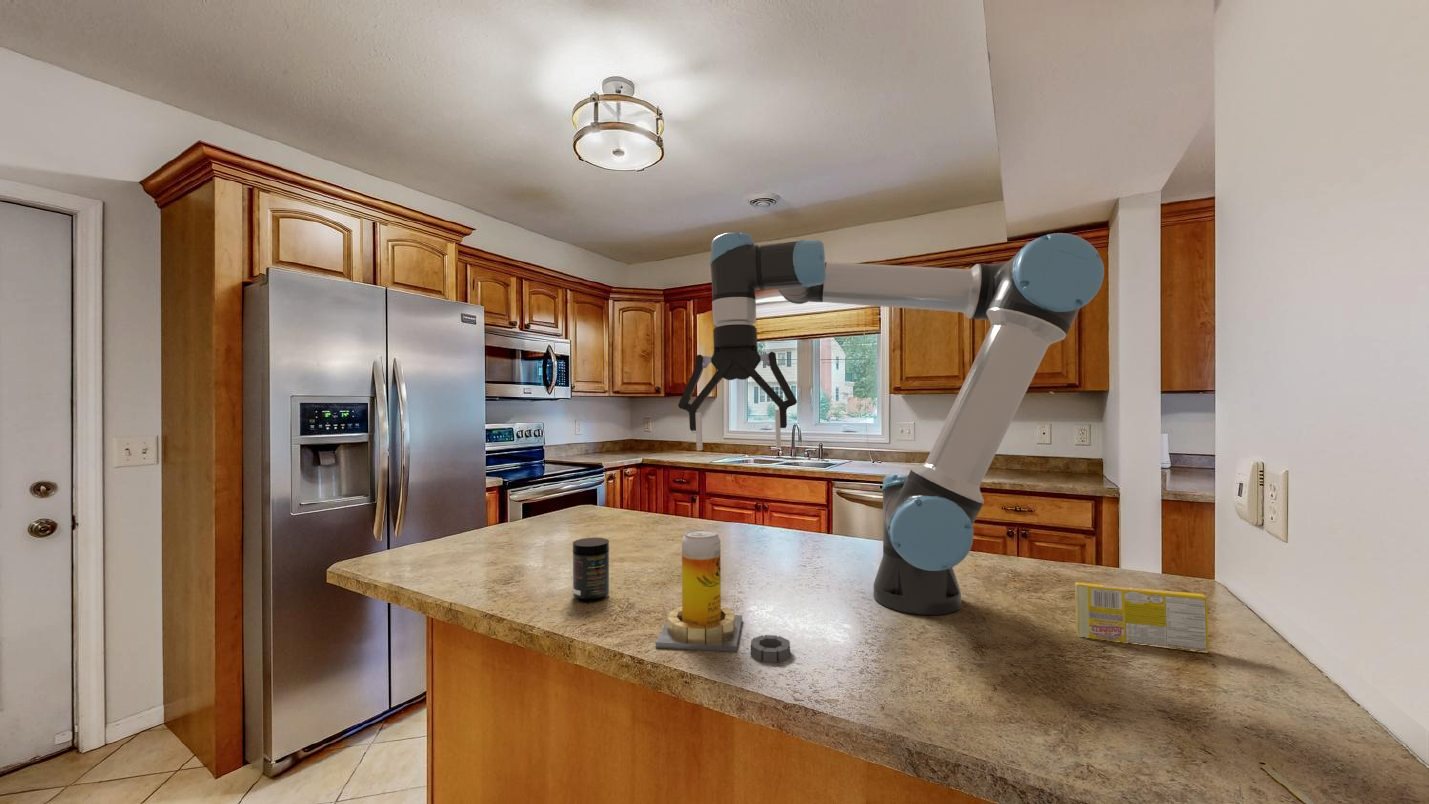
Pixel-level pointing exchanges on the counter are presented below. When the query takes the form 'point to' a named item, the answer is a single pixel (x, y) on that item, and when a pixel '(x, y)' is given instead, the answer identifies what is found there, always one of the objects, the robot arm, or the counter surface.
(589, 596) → the supplement container
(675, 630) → the collar block
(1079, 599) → the candy box
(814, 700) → the counter surface
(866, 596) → the counter surface
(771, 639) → the ring
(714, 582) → the beer can
